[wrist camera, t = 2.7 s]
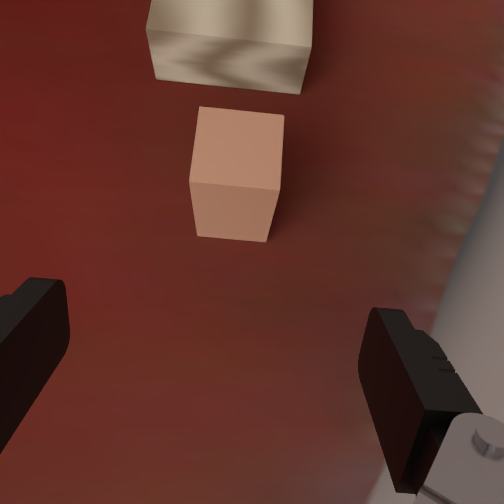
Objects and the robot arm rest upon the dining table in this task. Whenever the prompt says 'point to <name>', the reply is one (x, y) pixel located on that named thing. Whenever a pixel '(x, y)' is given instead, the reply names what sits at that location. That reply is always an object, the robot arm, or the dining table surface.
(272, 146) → the terracotta block
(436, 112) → the dining table surface
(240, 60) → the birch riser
